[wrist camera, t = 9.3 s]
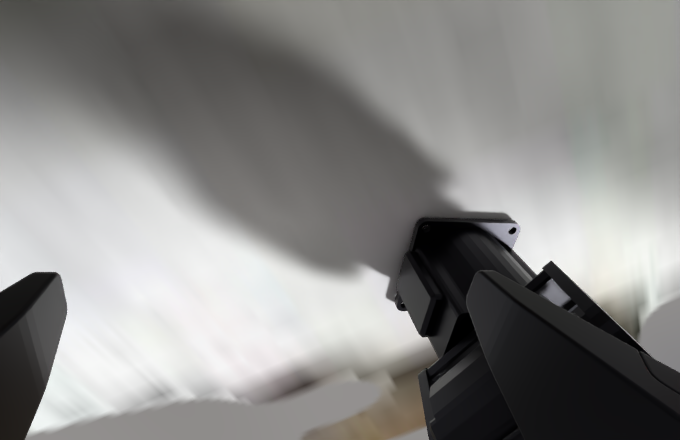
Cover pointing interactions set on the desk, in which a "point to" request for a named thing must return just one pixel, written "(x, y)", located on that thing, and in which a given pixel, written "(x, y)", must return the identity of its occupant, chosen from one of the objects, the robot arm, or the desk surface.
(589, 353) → the robot arm
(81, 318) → the desk surface
